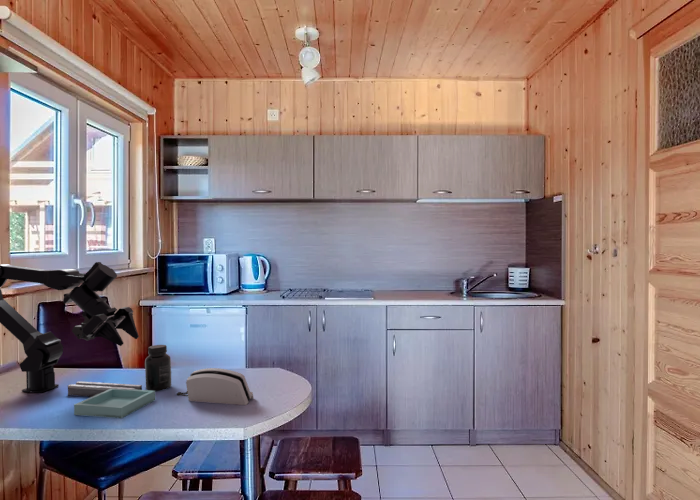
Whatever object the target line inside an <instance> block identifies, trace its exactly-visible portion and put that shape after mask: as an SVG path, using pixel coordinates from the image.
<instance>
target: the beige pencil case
mask: <svg viewBox="0 0 700 500" xmlns="http://www.w3.org/2000/svg"><path fill="white" fill-rule="evenodd" d="M247 382H248V381H247V379H246V377H245V374H243V373H240V372H239V371H238V372H237V371H235V370H231V369H230V370H229V369H226V368H221V367H219V368H217V367H212V368H211V367H210V368H209V367H208V368H201V369H197V370H195V371H192V373H190V376H188V377H187V379H186V381H185V384H186V389H187V390H186V392H188V394H187V395H188V396H187V399H188V401H189V402H201V403H211V404H212V403H214V404H225V405H226V404H227V405H239V406H247V405H248V404H249V400H250V399H252V400H254V393H253V392H252V391H251V390H250V387H249V385H248V383H247Z"/></svg>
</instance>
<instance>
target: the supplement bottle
mask: <svg viewBox="0 0 700 500" xmlns="http://www.w3.org/2000/svg"><path fill="white" fill-rule="evenodd" d="M147 349H148V356H146V358H145V360H144V368H145V369H144V373H145V376H144V378H145V390H152V391H155V392H159V391H160V392H161V391H166V390H168V389H170V388H171V387H172V362H171V361H172V360H171V356H170V355H169V354H168V353H167V351H168V349H167V345H166V344H156V345H151V346H148V348H147Z"/></svg>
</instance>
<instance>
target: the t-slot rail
mask: <svg viewBox="0 0 700 500" xmlns="http://www.w3.org/2000/svg"><path fill="white" fill-rule="evenodd" d="M109 389H125V390H133V389H135V390H143V385H142V384H129V383H114V382H113V383H111V382H98V381H95V382H94V381H76V382H75V384H73V383H70V384H69V385H67V395H68V396H77V397H78V396H79V397H88V398H90V397H93V396H95V395H97V394H100V393H102V392H104V391H106V390H109Z"/></svg>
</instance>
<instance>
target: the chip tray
mask: <svg viewBox="0 0 700 500" xmlns="http://www.w3.org/2000/svg"><path fill="white" fill-rule="evenodd" d="M154 401H156V391H152V390H147V389H142V390H135V389H133V390H125V389H109V390H106V391H104V392H102V393H100V394H97V395H95V396H93V397H88V398H86V399H83V400H81V401H79V402H77V403H74V404H73V416H85V417H96V418H97V417H99V418H108V419H109V418H110V419H124V418H126V417H127V416H129V415H130V414H133V413H134V412H136V411H139V410H140V409H141V408H143V407H145V406H147V405H149V404H151V403H152V402H154Z"/></svg>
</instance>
